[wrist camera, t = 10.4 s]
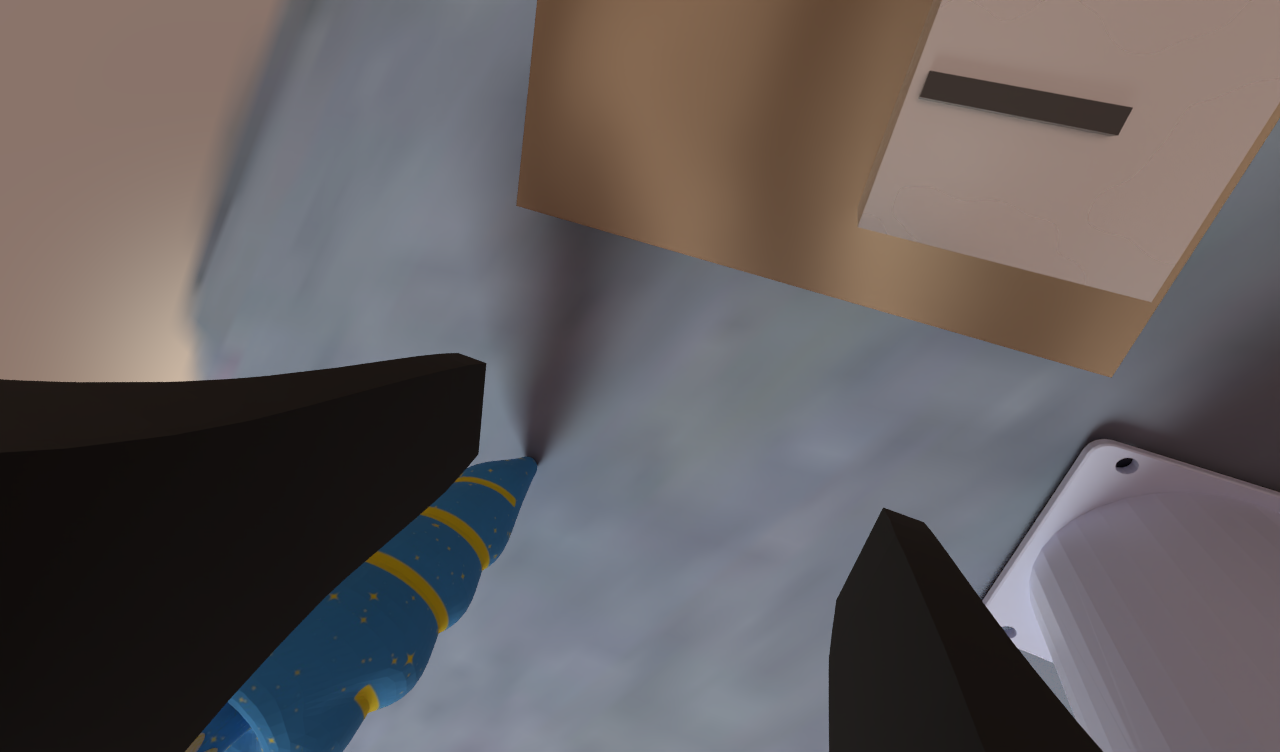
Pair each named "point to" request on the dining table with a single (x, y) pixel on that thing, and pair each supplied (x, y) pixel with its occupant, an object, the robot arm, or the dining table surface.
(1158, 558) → the robot arm
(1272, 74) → the beige cube
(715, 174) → the board
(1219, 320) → the dining table surface
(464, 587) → the ornament
